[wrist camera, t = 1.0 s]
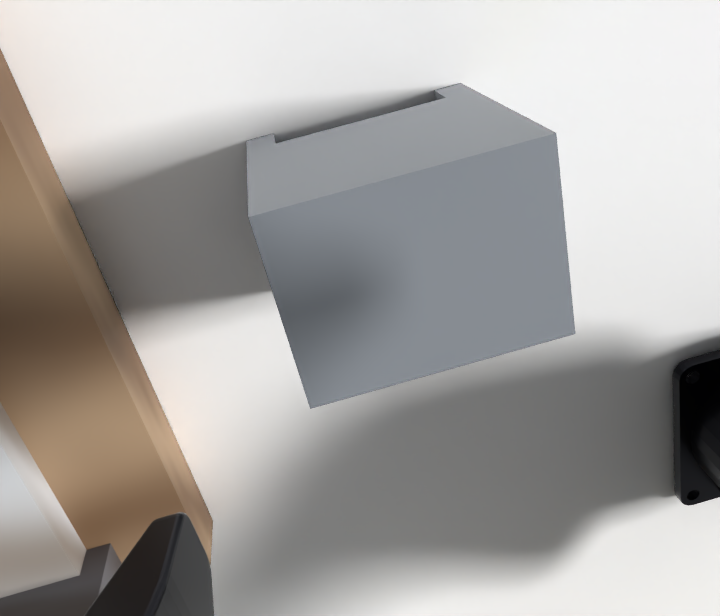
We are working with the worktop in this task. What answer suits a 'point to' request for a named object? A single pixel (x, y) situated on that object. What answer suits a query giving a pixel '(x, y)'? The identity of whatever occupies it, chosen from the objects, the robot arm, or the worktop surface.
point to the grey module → (412, 242)
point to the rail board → (69, 400)
